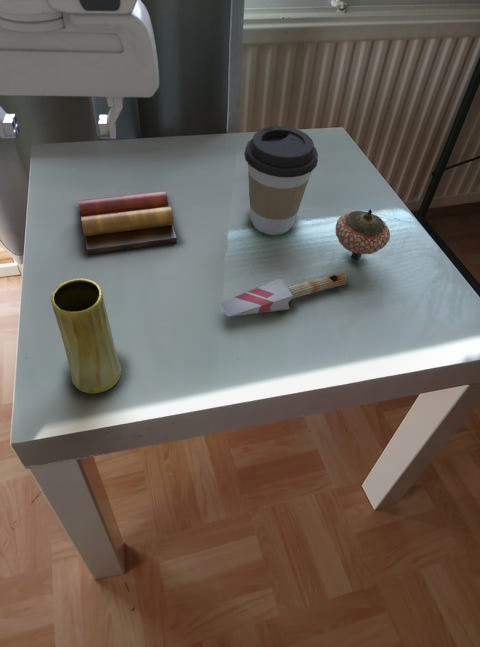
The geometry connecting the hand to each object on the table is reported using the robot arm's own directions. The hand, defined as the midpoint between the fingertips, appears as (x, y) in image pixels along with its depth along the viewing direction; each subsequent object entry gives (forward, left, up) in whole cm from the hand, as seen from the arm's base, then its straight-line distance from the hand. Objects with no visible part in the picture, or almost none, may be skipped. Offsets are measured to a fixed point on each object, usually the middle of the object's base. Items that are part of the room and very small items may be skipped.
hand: (60, 135), depth 50 cm
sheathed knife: (+27, -3, -27) cm, 38 cm away
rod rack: (+7, +19, -27) cm, 33 cm away
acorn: (+41, +3, -27) cm, 49 cm away
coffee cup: (+31, +15, -27) cm, 43 cm away
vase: (-1, -10, -27) cm, 29 cm away
